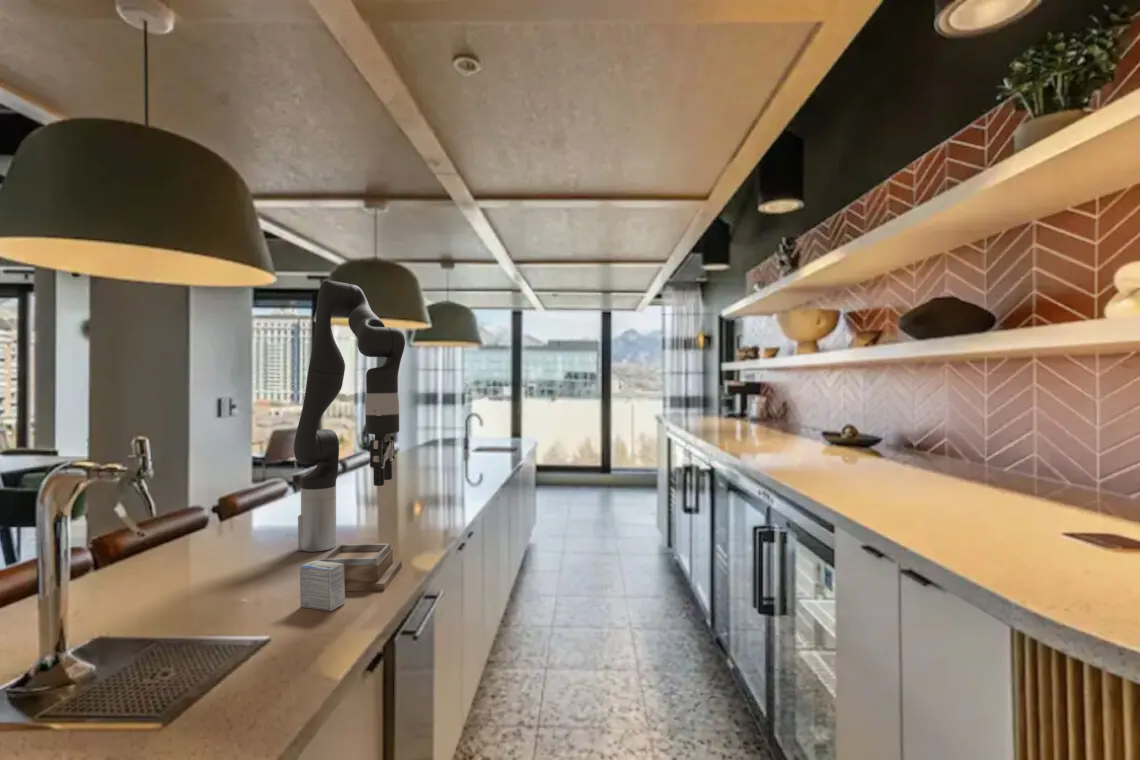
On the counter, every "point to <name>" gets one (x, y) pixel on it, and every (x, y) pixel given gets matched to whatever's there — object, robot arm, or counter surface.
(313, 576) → the medicine box
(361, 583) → the display stand
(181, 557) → the counter surface
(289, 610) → the counter surface
